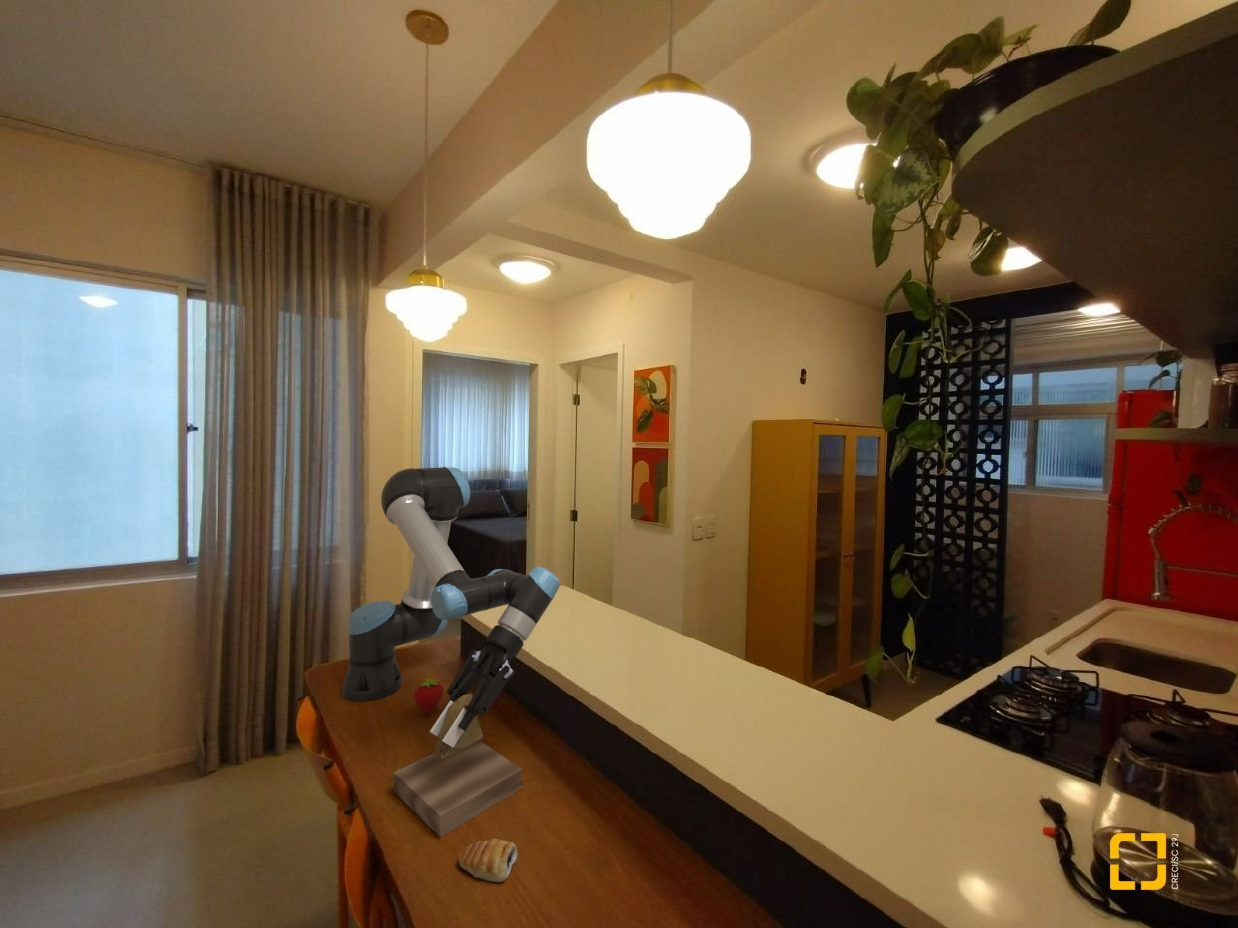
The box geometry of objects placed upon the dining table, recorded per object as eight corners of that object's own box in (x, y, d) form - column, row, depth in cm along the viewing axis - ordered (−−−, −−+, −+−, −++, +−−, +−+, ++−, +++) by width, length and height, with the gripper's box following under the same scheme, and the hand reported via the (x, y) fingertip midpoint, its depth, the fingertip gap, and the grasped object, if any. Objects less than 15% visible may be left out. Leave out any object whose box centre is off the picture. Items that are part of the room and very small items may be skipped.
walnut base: (393, 791, 105) (393, 772, 105) (472, 752, 119) (472, 735, 118) (440, 837, 93) (440, 815, 93) (521, 788, 107) (521, 769, 106)
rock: (432, 755, 97) (485, 730, 101) (421, 712, 102) (471, 689, 106) (440, 771, 105) (488, 747, 109) (428, 730, 110) (475, 708, 114)
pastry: (450, 877, 85) (450, 854, 85) (469, 846, 92) (469, 825, 91) (505, 886, 83) (505, 863, 83) (520, 854, 90) (520, 832, 90)
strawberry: (409, 714, 135) (409, 676, 134) (437, 703, 140) (436, 667, 140) (420, 722, 131) (420, 683, 130) (448, 711, 136) (448, 673, 136)
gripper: (545, 652, 110) (478, 764, 99) (497, 632, 122) (431, 730, 110) (525, 634, 106) (452, 749, 95) (477, 615, 118) (407, 715, 106)
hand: (441, 739), depth 102 cm, fingers closed on rock, 4 cm apart
